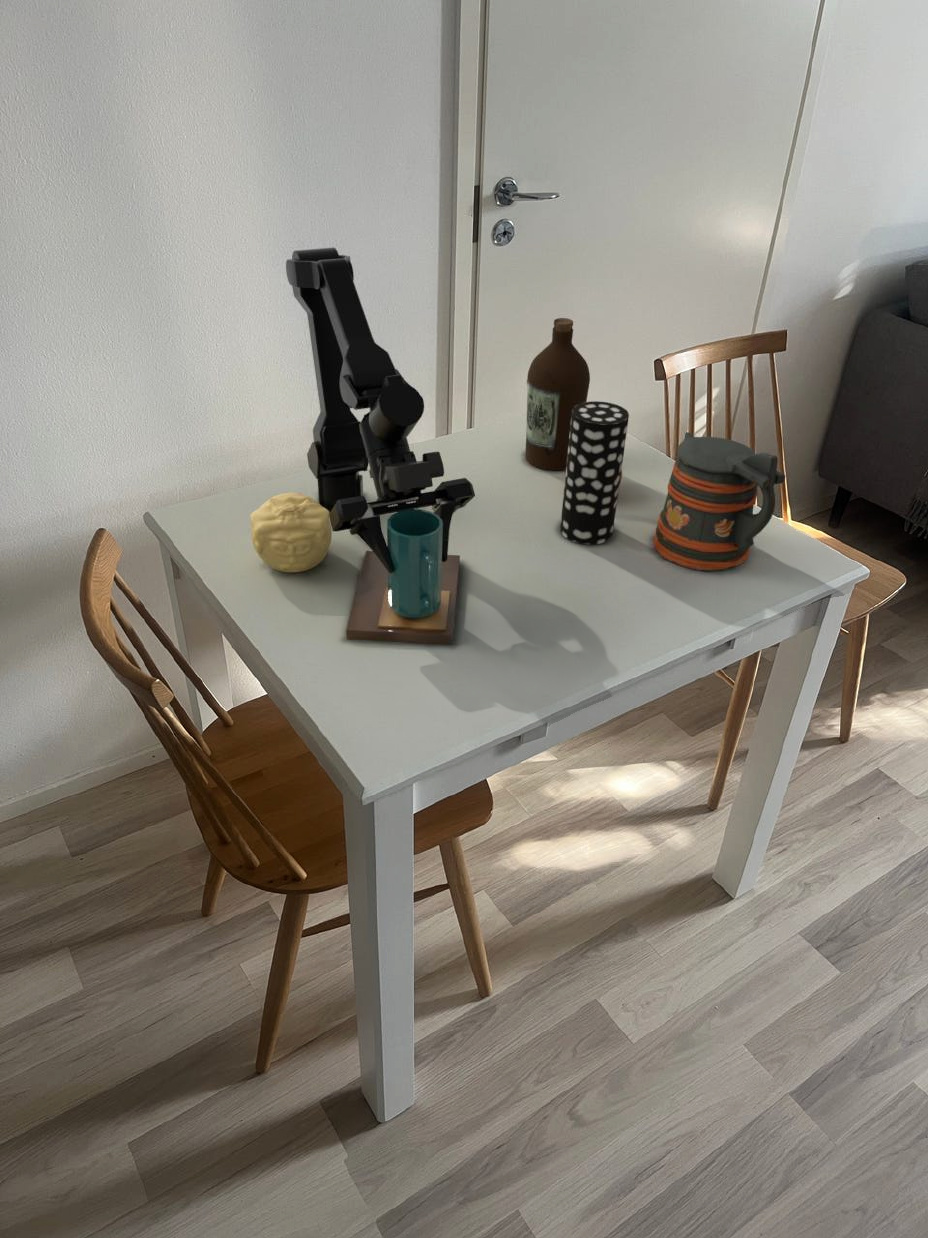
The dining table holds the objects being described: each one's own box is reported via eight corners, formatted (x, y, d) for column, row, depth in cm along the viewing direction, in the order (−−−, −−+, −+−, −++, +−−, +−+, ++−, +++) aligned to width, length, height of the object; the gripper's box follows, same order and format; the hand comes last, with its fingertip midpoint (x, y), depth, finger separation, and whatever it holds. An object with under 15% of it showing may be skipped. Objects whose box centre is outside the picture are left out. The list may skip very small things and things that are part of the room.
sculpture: (254, 585, 138) (246, 519, 131) (256, 541, 147) (248, 478, 141) (334, 580, 139) (331, 515, 133) (331, 537, 149) (328, 475, 142)
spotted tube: (578, 549, 148) (592, 428, 136) (550, 524, 154) (561, 406, 142) (623, 537, 151) (640, 418, 140) (593, 513, 157) (607, 397, 146)
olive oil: (548, 440, 179) (559, 305, 165) (593, 459, 173) (609, 321, 159) (509, 457, 173) (518, 319, 158) (554, 478, 167) (567, 336, 152)
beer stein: (791, 568, 145) (824, 447, 134) (724, 598, 138) (753, 473, 127) (699, 515, 158) (722, 400, 146) (633, 540, 151) (651, 421, 139)
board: (346, 639, 128) (345, 628, 127) (366, 559, 144) (365, 548, 143) (451, 644, 128) (452, 633, 127) (459, 563, 144) (460, 553, 143)
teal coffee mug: (381, 593, 132) (379, 514, 125) (429, 583, 135) (430, 505, 127) (407, 635, 125) (407, 554, 117) (458, 624, 127) (460, 543, 120)
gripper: (331, 443, 117) (362, 566, 115) (472, 421, 123) (504, 537, 122) (316, 472, 127) (345, 586, 126) (447, 451, 134) (476, 559, 132)
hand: (418, 566), depth 126 cm, fingers closed on teal coffee mug, 7 cm apart
